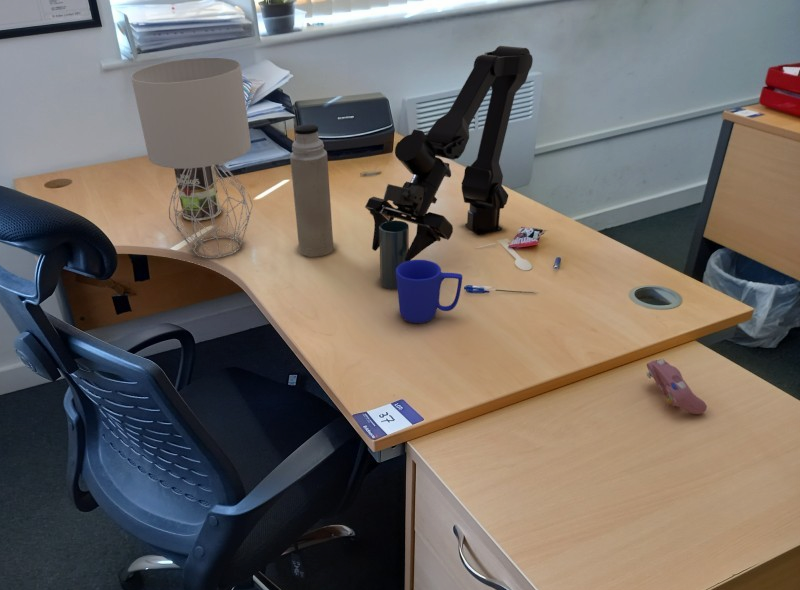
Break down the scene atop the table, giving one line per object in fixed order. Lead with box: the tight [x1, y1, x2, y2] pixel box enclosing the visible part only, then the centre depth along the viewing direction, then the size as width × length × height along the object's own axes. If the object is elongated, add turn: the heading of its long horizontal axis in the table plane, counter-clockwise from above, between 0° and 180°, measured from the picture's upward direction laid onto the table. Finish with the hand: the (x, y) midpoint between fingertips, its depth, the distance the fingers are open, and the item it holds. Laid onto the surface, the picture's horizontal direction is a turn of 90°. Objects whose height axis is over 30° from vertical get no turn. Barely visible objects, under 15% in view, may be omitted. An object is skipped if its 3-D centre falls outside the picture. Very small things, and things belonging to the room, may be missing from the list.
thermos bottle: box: [289, 123, 334, 258], centre depth 150 cm, size 8×8×28 cm
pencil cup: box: [379, 219, 410, 290], centre depth 139 cm, size 6×6×13 cm
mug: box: [396, 259, 463, 324], centre depth 127 cm, size 8×12×10 cm
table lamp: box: [130, 57, 254, 259], centre depth 151 cm, size 22×22×40 cm
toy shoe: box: [645, 358, 708, 415], centre depth 104 cm, size 10×5×7 cm, turn 5°
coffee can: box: [173, 165, 222, 222], centre depth 177 cm, size 10×10×14 cm
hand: (389, 255), depth 138 cm, fingers open, 8 cm apart
